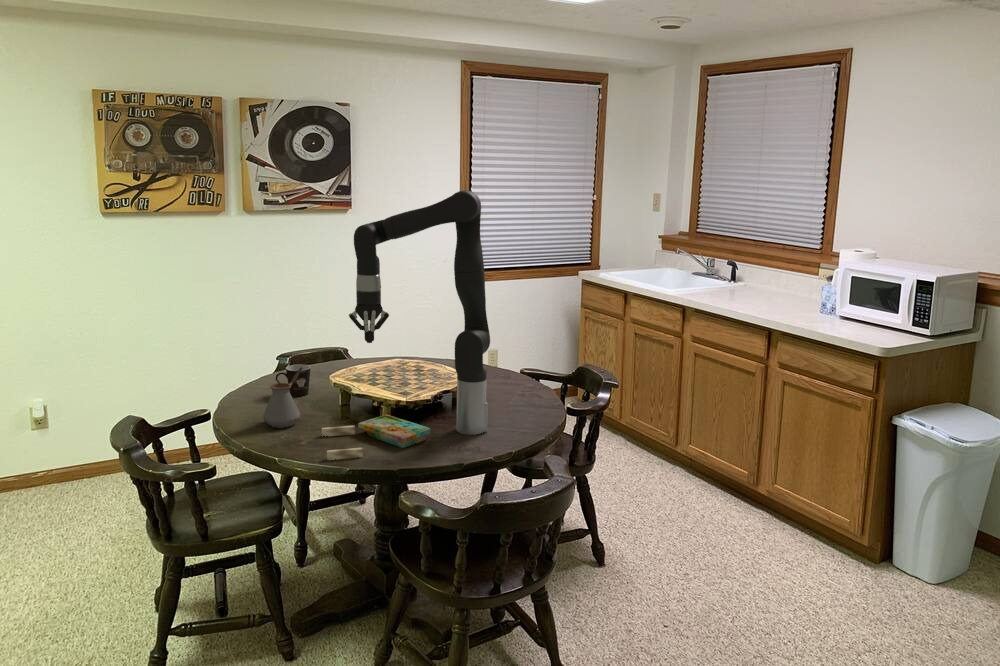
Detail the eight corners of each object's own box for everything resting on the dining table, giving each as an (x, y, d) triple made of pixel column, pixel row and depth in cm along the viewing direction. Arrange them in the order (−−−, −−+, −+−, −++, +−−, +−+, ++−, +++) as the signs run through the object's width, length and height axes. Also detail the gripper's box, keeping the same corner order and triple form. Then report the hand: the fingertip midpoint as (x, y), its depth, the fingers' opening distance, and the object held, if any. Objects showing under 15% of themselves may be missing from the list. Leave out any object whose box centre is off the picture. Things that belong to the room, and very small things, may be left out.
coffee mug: (313, 391, 282) (312, 364, 280) (308, 398, 274) (307, 371, 272) (281, 390, 282) (280, 364, 279) (275, 397, 273) (274, 370, 271)
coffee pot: (290, 431, 240) (288, 385, 237) (256, 428, 243) (254, 382, 239) (319, 410, 261) (318, 368, 257) (288, 407, 263) (286, 365, 260)
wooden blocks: (354, 433, 241) (354, 425, 240) (362, 457, 222) (362, 448, 221) (321, 435, 238) (321, 427, 237) (327, 460, 219) (327, 452, 218)
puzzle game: (402, 436, 227) (358, 420, 239) (402, 451, 228) (358, 434, 240) (430, 426, 236) (386, 411, 248) (430, 440, 237) (386, 425, 249)
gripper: (387, 286, 245) (388, 338, 249) (345, 287, 241) (346, 340, 245) (391, 289, 238) (392, 344, 242) (348, 291, 234) (349, 346, 238)
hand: (369, 342), depth 244 cm, fingers closed
